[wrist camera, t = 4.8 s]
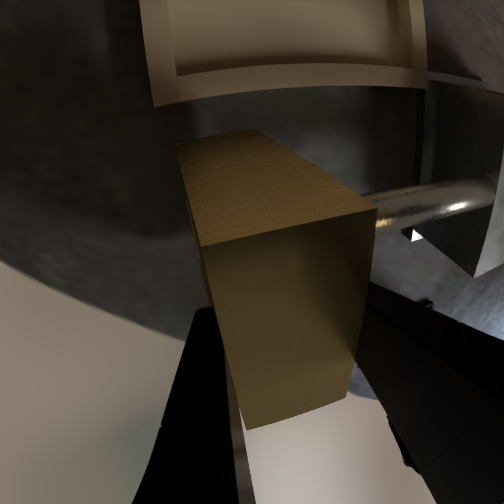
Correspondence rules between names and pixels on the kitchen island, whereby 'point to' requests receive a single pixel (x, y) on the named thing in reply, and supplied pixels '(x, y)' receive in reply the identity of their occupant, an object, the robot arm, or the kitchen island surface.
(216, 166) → the wooden block
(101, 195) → the kitchen island surface
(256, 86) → the tray
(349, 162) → the kitchen island surface
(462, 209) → the vise block
